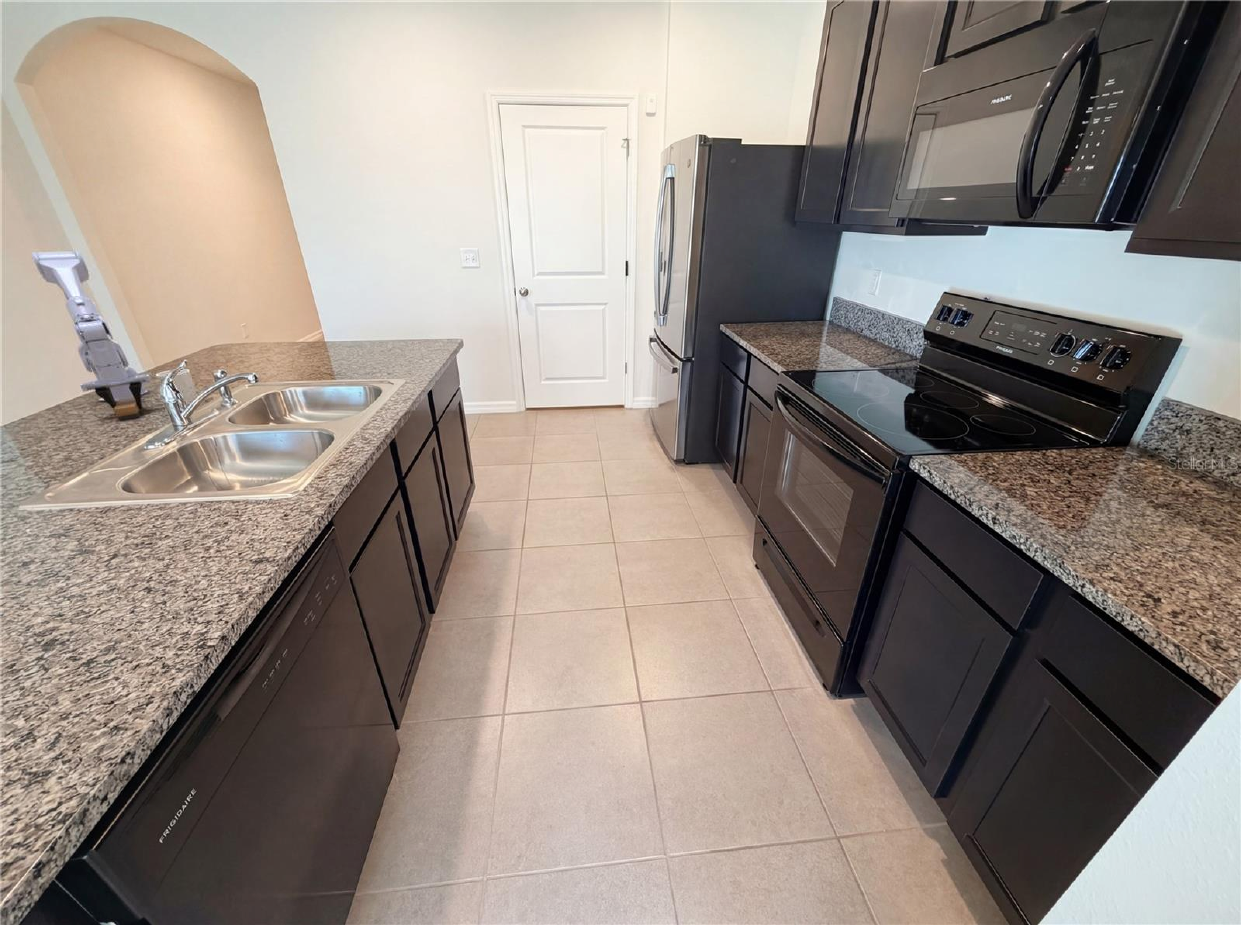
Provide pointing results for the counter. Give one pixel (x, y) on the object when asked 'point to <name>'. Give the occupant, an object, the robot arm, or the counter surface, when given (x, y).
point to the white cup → (181, 383)
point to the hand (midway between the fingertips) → (129, 409)
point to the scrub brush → (127, 409)
